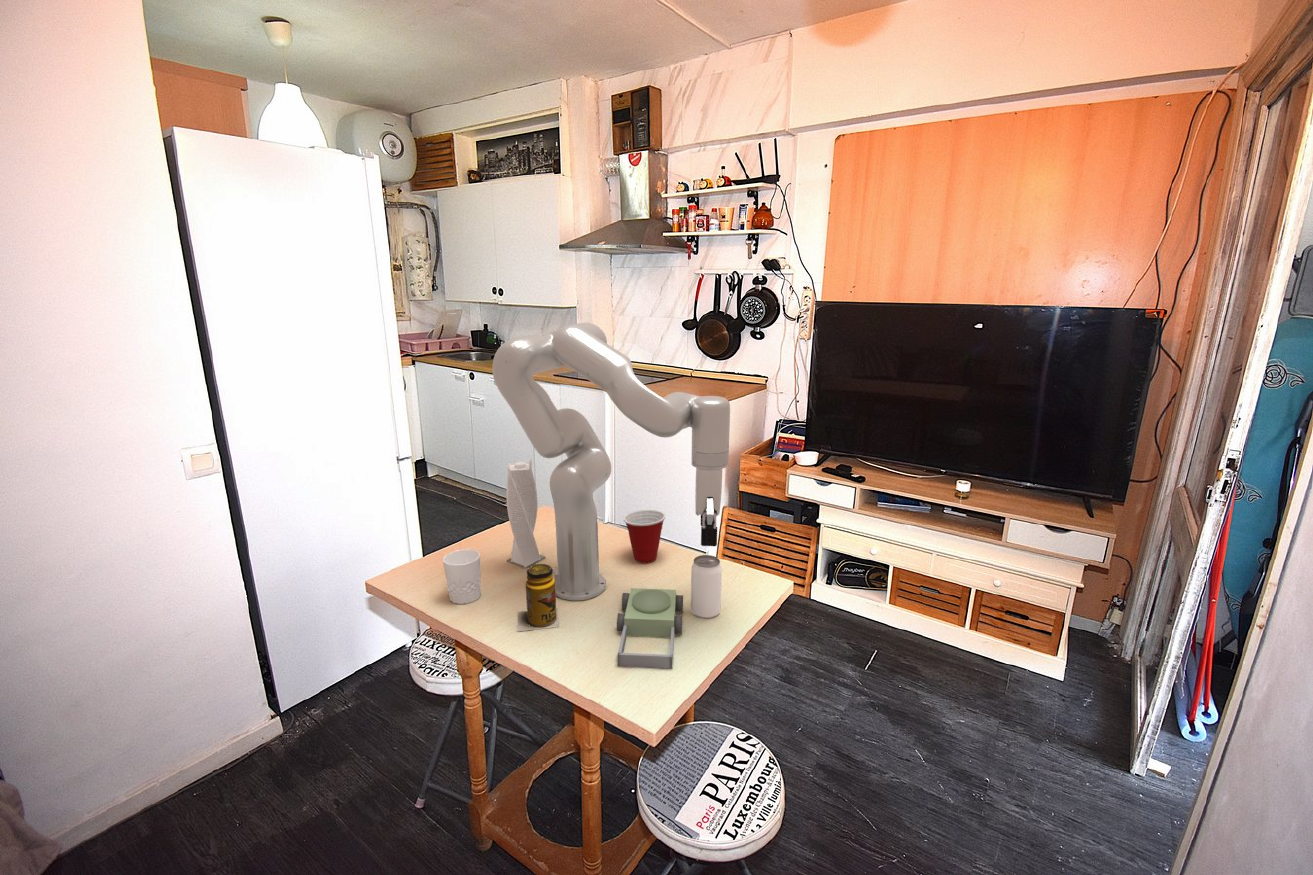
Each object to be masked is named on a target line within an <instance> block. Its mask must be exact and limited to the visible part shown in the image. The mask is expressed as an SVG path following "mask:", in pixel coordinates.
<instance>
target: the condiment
mask: <svg viewBox="0 0 1313 875" xmlns="http://www.w3.org/2000/svg"><path fill="white" fill-rule="evenodd" d="M553 569H554V568H553V567H552V566H551V565H549V564H547V563H536V564H534V565H532V566H530V567H528V568H527V570H526V581H525V593H526V594H525V596H526V597H525V598H526V609H527V610H521V611H517V632H518V633H519V632H526V631H533V630H543V629H552V628H558V627H560V621H559V613H558V607H557V600H556V599H557V598H556V597H557V596H556V594H555V579H554V578H553Z"/></svg>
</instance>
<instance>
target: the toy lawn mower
mask: <svg viewBox="0 0 1313 875" xmlns="http://www.w3.org/2000/svg"><path fill="white" fill-rule="evenodd" d="M621 610H622V611H625V612H618V613H617V618H616V631H617V632H621V635H620V641H619V646H618V651H617V655H616V656H617V667H629V668H647V669H648V668H652V669H668V670H669V669H670V670H672V669H673V665H674V664H673V663H674V650H675V649H674V648H675V647H674V646H675V635H683V615H678V614H677V613H684V595H683V594H677V590H676V589H671V588H670V589H665V588H661V589H660V588H642V587H641V588H640V587H639V588H638V587H630V591H629V592H622V595H621ZM676 614H677V615H676ZM627 637H641V638H643V637H644V638H661V639H663V638H665V639H667V638H668V639H670V641H669V642H670V643H669V654H658V653H655V654H654V653H637V652H625V647H626V643H627Z"/></svg>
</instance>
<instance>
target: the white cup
mask: <svg viewBox="0 0 1313 875" xmlns="http://www.w3.org/2000/svg"><path fill="white" fill-rule="evenodd" d="M442 561H443V568H444V574H445V580H446V586H447V590H448V594H449V595H448V596H449V600H451V601H452V603H453V604H455V603H457V604H456V605H467V604H470V602H471V603H474V602H475V601H477V600H478V599H479V598H480V597H481V596H482V593H481V592H482V590H481V584H482V572H481V569H482V568H481V553H480V552H479V551H478V550H475V549H472V548H463V549H462V548H461V549H457V550H453V551H450V552H448V553H447V554H446V555H444V556H443V559H442ZM451 601H450V602H451ZM464 603H465V604H464ZM466 603H467V604H466Z"/></svg>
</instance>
